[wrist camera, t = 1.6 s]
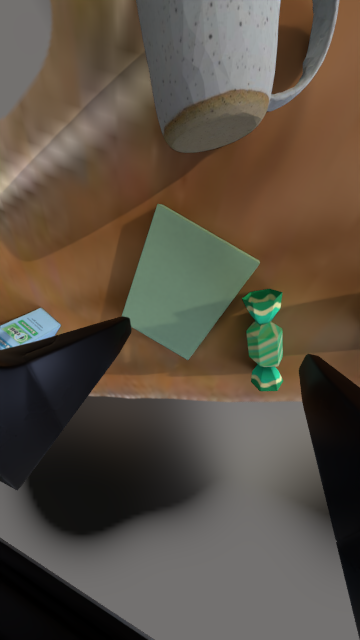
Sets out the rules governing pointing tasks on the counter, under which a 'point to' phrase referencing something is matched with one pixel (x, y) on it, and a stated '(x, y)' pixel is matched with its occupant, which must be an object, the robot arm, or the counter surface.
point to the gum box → (28, 329)
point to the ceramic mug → (220, 65)
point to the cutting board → (184, 282)
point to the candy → (264, 338)
